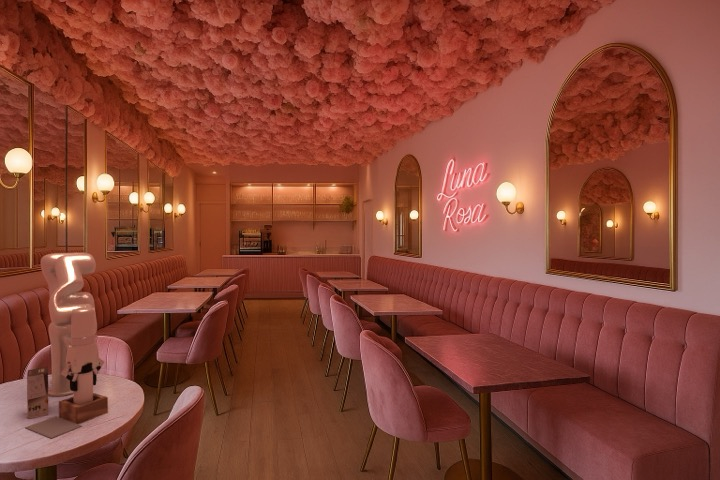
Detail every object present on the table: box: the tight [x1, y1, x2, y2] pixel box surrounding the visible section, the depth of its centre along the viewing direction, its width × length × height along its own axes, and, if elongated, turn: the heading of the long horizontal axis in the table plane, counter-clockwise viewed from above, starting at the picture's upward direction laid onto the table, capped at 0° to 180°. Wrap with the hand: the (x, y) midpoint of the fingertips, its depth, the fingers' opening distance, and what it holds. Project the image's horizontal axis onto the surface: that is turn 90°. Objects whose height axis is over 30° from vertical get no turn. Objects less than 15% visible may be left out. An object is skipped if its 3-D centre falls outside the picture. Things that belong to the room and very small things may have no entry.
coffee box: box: [26, 366, 49, 419], centre depth 163 cm, size 9×6×16 cm
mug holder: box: [58, 392, 109, 425], centre depth 162 cm, size 12×11×6 cm
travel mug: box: [72, 363, 94, 405], centre depth 162 cm, size 6×7×20 cm
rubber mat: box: [25, 415, 83, 440], centre depth 152 cm, size 16×10×1 cm, turn 64°
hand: (83, 387), depth 162 cm, fingers closed on travel mug, 6 cm apart
